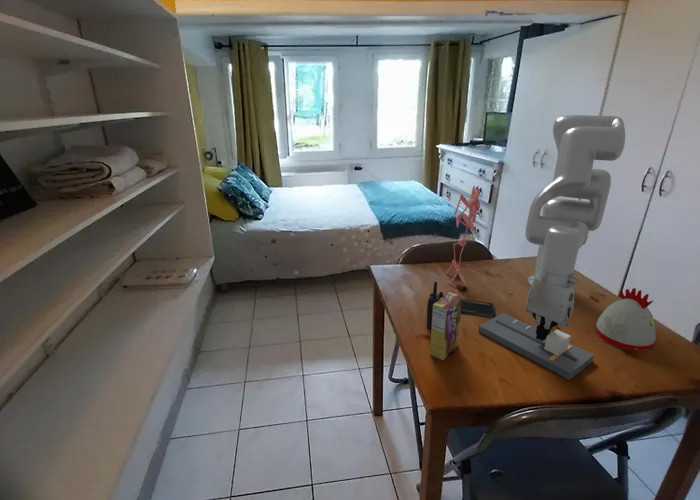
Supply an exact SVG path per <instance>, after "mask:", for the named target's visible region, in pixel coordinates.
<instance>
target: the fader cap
mask: <svg viewBox="0 0 700 500" xmlns="http://www.w3.org/2000/svg"><path fill="white" fill-rule="evenodd" d="M571 337H572V335H570V334H568V333H566V332H563V331H561V330H560V329H555V330H554V331H552V332H550V334H549V335H548V336H547V338H546V343H545V347H544V349H545V350H547V351H549V352H551V353H553V354H555V355H557V356H559V355H560V354H561V353H563V352H564V351H566V350H567V349H568V346H569V343H570V341H571Z"/></svg>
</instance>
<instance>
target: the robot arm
mask: <svg viewBox="0 0 700 500" xmlns="http://www.w3.org/2000/svg"><path fill="white" fill-rule="evenodd" d="M552 125H553V126H552V134H553V135H552V136H553V139H554V142H555V146H556V148H557V149H556V150H557V158H556V163H555V169H554V173H553V178H552V181H551V182H550V183H548V185H546V186H545V187H543V188H542V189H541V190H540V191H539V192H538V193H537V194H536V195H535V197H534V198H533V200H532V202H531V204H530V207H529V211H528V216H527V220H526V221H527V222H526V226H525V238H526V240H527V241H528V242H529V243H531V244H533V245H538V250H537V255H536V260H535V265H534V270H533V275H530V276H529V277H528V279H527V283H528V285H530V289H529V291H528V295H527V297H526V299H527V300H526V305H525V307H526V308H525V311H526V312H527V313H529V314H530V315H532V317H533V319H534V321H535V325H536V328H537V329H536V334H537V335H536V339H539V340H540V341H543V340H545V339H546V338H547V336H548V335H549V334H551V333H552V332H551V331H552V328H556V327H558V328H563V329H565V328H568V327H569V319H571V317H573V316H572V315H573V311H574V305H575V293H576V292H575V285H576V284H578V281H579V279H578V278H576V277H575V276H574V275H575V273H574V272H575V266H576V262H577V257H578V254H579V249H581V248H582V247H583V245H584V246H585V245H586V243H587V240H588V238H589V232H592V231H593V232H594V231H597V229H599V228H600V226H601V224H602V221H603V218H604V214H605V209H606V206H607V201H608V198H609V195H610V189H611V184H612V176H611V174H610V173H609V171H607V170H604V169H602V168H601V169H599V168H593V167H594V161H607V162H608V161H617V160H618V159H619V158H620V157H621V155H622V153H623V151H624V149H625V143H626V130H625V123H624V120H623V118H622V117H621V116H617V115H590V114H589V115H586V114H583V115H582V114H572V115H570V114H568V115H563V116H559V117H557V118H556V119H555V121H554V123H553V124H552ZM559 197H564V198H559ZM567 198H568V199H567ZM569 198H571V199H569ZM577 199H582V200H577ZM587 200H588V201H587ZM541 211H542V215H541Z"/></svg>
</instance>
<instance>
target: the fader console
mask: <svg viewBox="0 0 700 500" xmlns="http://www.w3.org/2000/svg"><path fill="white" fill-rule="evenodd" d="M536 329H537V327H535V326H533V325H532V324H529V323H527V322H525V321H522V320H520V319H518V318H516V317H514V316H511V315H509V314H507V313H505V312H502V313H500V314H498V315H497V316H496V315H495V316H494V317H492V318H491V319H489V320H486V321H485V322H483V323H481V324H479V325H478V330H477V331H478V333H480V334H481V335H482V334H483V335H484V336H487V338H490V339H492V340H494V341H495V342H497V343H499V344H501V345H503V346H505V347H507V348H509V349H510V350H513V351H514V352H516V353H518V354H519V355H522V356H523V357H525V358H527V359H529V360H531V361H532V362H535V363H537V364H538V365H540V366H543V367H545V368H546V369H548V370H550V371H552V372H554V373H556V374H557V375H559V376H561V377H563V378H564V379H567V380H569V381H570V380H572V379H573V378H574V377H575V376H576V375H578V374H579V373H581V371H582V370H584V368H587V366H589V365H590V364H591V363H592V362H593V361H594V357H595V354H594V353H592V352H590V351H587V350H585V349H583V348H581V347H578V346H576V345H574V344H573V343H570V342H569V346H568V349H567V350H566V351H564V352H563V353H561V354H560V355H559V356H557V355H555V354H553V353H551V352H549V351H547V350H545V349H544V347H545V343H546V339H545V340H543V341H540V340H539V339H536V335H537V334H536Z"/></svg>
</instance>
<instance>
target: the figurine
mask: <svg viewBox="0 0 700 500" xmlns="http://www.w3.org/2000/svg"><path fill="white" fill-rule="evenodd" d="M471 189H472V190H471V193H470V198H469V199H467V198H466V197H465V196H464V195H463V194H460V196H459V199H458V202H457V205H456V208H455V211H454V217H455V220H456V228H457V229H458V228H459V225H460V223H461V224H462V225H464V226H465V227H466V228H465V229H466V230H465V234H464V237H463V238H461V239H459V241H458V242H455V243H453V256H454V257H453V258H454V259H452V260H451V265H450V266H449V268H448V270H447V271H446V272H445V275H448V273H449V272H450V270H451V269H452V268H453V267H454V268H455V270H456V273H455V274H454V276H453V277H452V279H451V280H450V281H449V282H448V285H451V284H452V283H453V281H454V280H455V278H456V277H457V276H458V277H459V278H460V281H461V282H462V284H463V285H464V286H465V287H466V288H467V287H468V285H467V283H466V280H465V279H464V276H463V275H462V274H461V259H462V253H463V251H464V247H465V246H466V245H467V239H466V237H467V233H468V230H469V229H470V230H471V231H473V232H474V233H477V232H476V231H477V230H476V228H475V222H476V220H477V211H479V210H480V208H481V204H480V201H479V196H480V195H479V194H480V188H479V187H478V188H477V189H476V186H475V185H473V187H472V188H471ZM461 202H462V203H463V204H464V206H465V208H464V209H463V211H461V212H460V214H459V216H457V212H458V209H459V206H460V204H461ZM467 209H469V211H468V215H467V214H466V213H465V212H466V211H467ZM462 218H463V219H462ZM462 220H463V221H462ZM456 245H459V246H461V247H462V248H461V251H460V253H459V263H457V261H456V249H455V248H456ZM468 270H469V271H473V272H474V273H476V274H478V275H480V276H481V277H482V278H483V280H485V281H488V279H487V278H485V277H484V276H482V275H481V273H480V272H477V271H474V270H472V269H469V268H468ZM485 286H487V284H486V285H485ZM453 292H455V291H453V290H451V293H453Z"/></svg>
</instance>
